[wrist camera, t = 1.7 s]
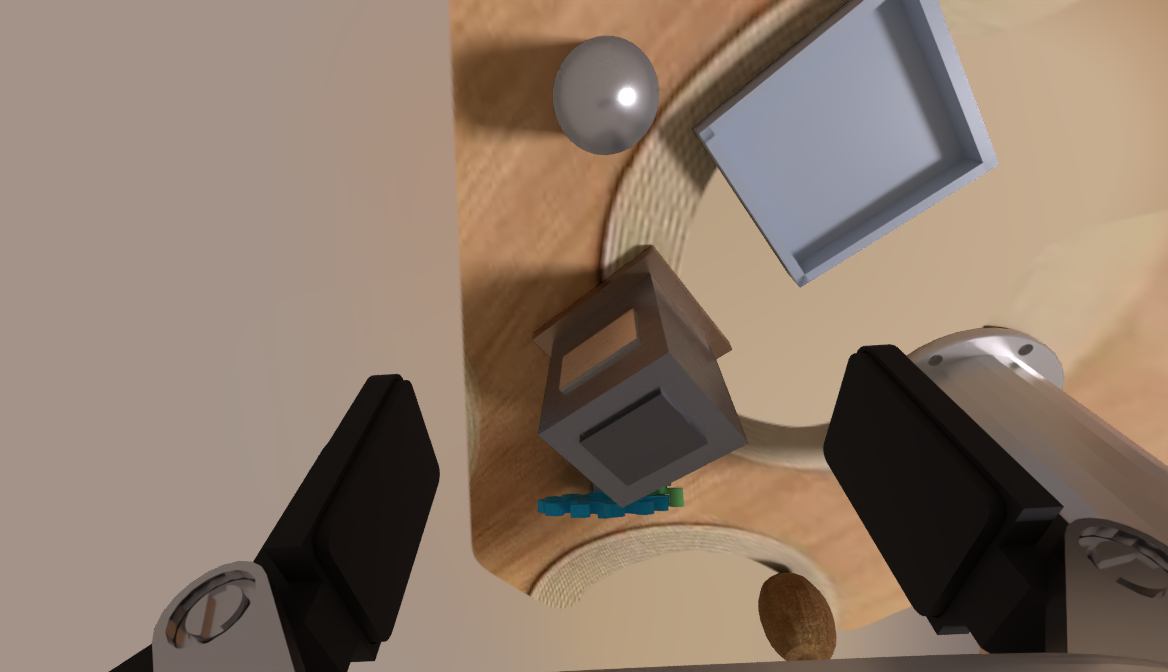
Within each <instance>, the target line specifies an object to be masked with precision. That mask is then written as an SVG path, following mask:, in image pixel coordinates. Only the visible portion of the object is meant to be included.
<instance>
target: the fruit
mask: <svg viewBox="0 0 1168 672" xmlns="http://www.w3.org/2000/svg"><path fill="white" fill-rule="evenodd" d="M758 602H759V604H758V607H759V615H760V620H761V623H762V626H763V629H764V632H765V634H766V637H767V639H768V640H769V642H770V644H771V646H772V647H773V648H774V649H775V651H776V652H777V653H778V654H779V655H780V656H781V657H783V658H784V659H785V660H786V661H802V660H827V659H830V658H831V657H832V655H833V652H834V649H835V647H836V630H835V623H834V619H833V615H832V612H831V609H830V607H829V605H828V603H827V601H826V599H825V598H824V597H823V595H822V594H821V593H820V591H819V590H818V589H817V588H816V587H815V586H814V585H813V584H811V583H810V582H809V581H808V580H807V579H806V578H805V577H803V576H800V575H797V574H794V573H778V574H776V575H774V576H772V577H770V578H769V579H768V580H767V581H765V582H764V584H763V586H762V588H761V591H760V596H759V601H758Z"/></svg>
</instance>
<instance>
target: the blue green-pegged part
mask: <svg viewBox="0 0 1168 672" xmlns="http://www.w3.org/2000/svg"><path fill="white" fill-rule="evenodd" d="M667 486H671V483H670V484H668V485H666V486H664V487H662V488H660V489H658V490H656V491H654V492H652V493H650V494H648V495H646V496H644V497H643V498H641V499H639V500H637V501H635V502H633V503H631V504H629V505H627V506H625V507H623V508H621V507H620V506H619V505H618V504H617V503H616V502H615V501H613V500H612V499H611V498H610V497H609V496H608V495H606V494H605V493H604V492H603V491H602V490H601V489H600V488H598V487H597V486H596V485H595V484H594V483H593V493H588V495H580V494H566V495H562V497H557V496H552V497H546V498H545V499H543V500H538V512H540V513H545V515H547V516H562V515H564V513H571V518H587V517H590V514H598V518H613V517H623V516H625V513H631V514H638V515H649V514H653V513H654V511H668V507H669V506H670V507H683V506H684V501H683V488H667ZM654 494H655V495H654ZM665 494H669V495H665ZM669 497H670V503H669Z"/></svg>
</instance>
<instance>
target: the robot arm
mask: <svg viewBox="0 0 1168 672" xmlns="http://www.w3.org/2000/svg"><path fill="white" fill-rule="evenodd" d="M1063 384H1064V373H1063V368H1062V364H1061V362H1060V361H1059V359H1058V357H1057V356H1056V354H1055V353H1054V352H1053V351H1052V350H1051V349H1050V348H1048V347H1047V346H1046V345H1045V344H1043V343H1042V342H1040V341H1038V340H1037V339H1035V338H1033V337H1032V336H1030V335H1028V334H1025V333H1022V332H1019V331H1016V330H1012V329H1004V328H978V329H972V330H967V331H961V332H956V333H954V334H951V335H948V336H945V337H942V338H939V339H936V340H934V341H932V342H930V343H928V344H926V345H924V346H922V347H919V348H918V349H916V350H915V351H913V352H912V353H910V354H908V355H907V356H906V355H905V354H904V353H903V352H902V351H901V350H900V349H899V348H898V347H896V346H894V345H890V344H888V345H872V346H863V347H861V348H860V349H859V350H858V351H857V353H854V354H853V355H851V356H850V358H849V361H848V364H847V367H846V371H845V374H844V378H843V381H842V384H841V388H840V391H839V394H838V398H837V401H836V405H835V408H834V412H833V415H832V418H831V421H830V425H829V428H828V432H827V435H826V438H825V442H824V446H823V451H824V456H825V459H826V461H827V463H828V465H829V467H830V468H831V470H832V472H833V474H834V475H835V477H836V479H837V480H838V482H839V484H840V485H841V487H842V489H843V490H844V492H845V494H846V495H847V497H848V499H849V500H850V502H851V504H852V506H853V507H854V509H855V511H856V512H857V514H858V516H859V517H860V519H861V521H862V522H863V524H864V526H865V527H866V529H867V531H868V532H869V534H870V536H871V538H872V539H873V541H874V543H875V544H876V546H877V548H878V549H879V551H880V553H881V554H882V556H883V558H884V559H885V561H886V563H887V564H888V566H889V568H890V570H891V571H892V573H893V575H894V576H895V578H896V580H897V581H898V583H899V585H900V586H901V588H902V590H903V591H904V593H905V595H906V596H907V598H908V600H909V602H910V603H911V605H912V606H913V608H914V609H915V610H916V611H917V612H918V613H919V614H920V615H922V616H926V617H927V619H928V620H929V622H930V624H931V625H932V627H933V629H934V630H935V632H936V633H937V635H949V634H968V633H969V632H971V634H972V635H973V636H974V638H975V640H976V641H977V643H978V644H979V646H980V650H979V654H964V655H963V654H962V655H961V654H960V655H927V656H903V657H878V658H852V659H827V660H802V661H778V662H756V663H735V664H711V665H691V666H690V665H689V666H668V667H645V668H623V669H604V670H583V671H562V672H1168V466H1167V465H1165V464H1164V463H1163V462H1161V461H1160V460H1158V459H1157V458H1156V457H1154V456H1153V455H1151V454H1150V453H1149V452H1147V451H1146V450H1144V449H1143V448H1142V447H1140V446H1139V445H1138V444H1136V443H1135V442H1133V441H1132V440H1131V439H1129V438H1128V437H1126V436H1125V435H1124V434H1122V433H1121V432H1119V431H1118V430H1117V429H1115V428H1114V427H1113V426H1111V425H1110V424H1108V423H1107V422H1106V421H1104V420H1103V419H1101V418H1100V417H1099V416H1097V415H1096V414H1094V413H1093V412H1092V411H1090V410H1089V409H1088V408H1086V407H1085V406H1083V405H1082V404H1081V403H1079V402H1078V401H1076V400H1075V399H1074V398H1072V397H1071V396H1069V395H1068V394H1067V393H1065V392H1064V391H1063ZM439 471H440V470H439V465H438V462H437V459H436V456H435V453H434V450H433V447H432V444H431V441H430V438H429V435H428V432H427V429H426V426H425V423H424V420H423V417H422V414H421V411H420V408H419V405H418V402H417V399H416V396H415V393H414V390H413V387H412V384H411V382H410V381H408V380H403V378H402V377H401V376H400V375H399V374H389V375H374V376H371V377H369V378H368V379H367V381H366V383H365V384H364V386H363V387H362V389H361V390H360V392H359V394H358V395H357V397H356V399H355V400H354V402H353V403H352V405H351V407H350V409H349V410H348V411H347V413H346V415H345V416H344V418H343V420H342V421H341V423H340V425H339V426H338V428H337V429H336V431H335V433H334V434H333V436H332V438H331V439H330V441H329V442H328V444H327V445H326V446H325V447H324V448H323V450H322V451H321V453H320V455H319V456H318V458H317V460H316V461H315V463H314V465H313V466H312V468H311V469H310V471H309V472H308V474H307V476H306V477H305V479H304V481H303V482H302V484H301V485H300V487H299V489H298V490H297V492H296V493H295V495H294V497H293V498H292V500H291V502H290V503H289V505H288V507H287V508H286V510H285V511H284V513H283V515H282V516H281V518H280V519H279V521H278V522H277V524H276V526H275V527H274V529H273V531H272V532H271V534H270V535H269V537H268V539H267V540H266V542H265V543H264V545H263V547H262V548H261V550H260V552H259V553H258V555H257V557H256V558H255V560H254V561H253V562H248V561H247V562H246V561H237V562H234V563H230V564H225V565H222V566H220V567H218V568H215V569H214V570H211V571H209V572H207V573H205V574H204V575H202V576H201V577H199V578H198V579H196V580H195V581H193V582H192V583H190V584H189V585H188V586H187V587H186V588H185V589H183V590H182V591H181V592H180V593H179V594H178V595H177V596H176V597H175V598H174V599H173V600H172V601H171V603H170V604H169V605H168V607H167V608H166V609H165V610H164V611H163V613H162V615H161V617H160V618H159V620H158V623H157V624H156V626H155V628H154V634H153V641H152V644H151V645H149V646H148V647H146V648H145V649H143V650H142V651H140V652H139V653H137V654H135V655H134V656H132V657H131V658H129V659H128V660H126V661H125V662H123V663H122V664H120V665H119V666H117V667H115V668H114V669H112V670H111V671H109V672H347V671H348V668H349V665H350V662H364V661H375V659H376V656H377V653H378V650H379V647H380V644H381V642H385V641H387V640H388V639H389V637H390V636H391V634H392V631H393V628H394V625H395V621H396V618H397V615H398V612H399V609H400V605H401V602H402V599H403V596H404V593H405V589H406V586H407V583H408V580H409V577H410V573H411V570H412V566H413V564H414V561H415V557H416V554H417V551H418V547H419V544H420V541H421V538H422V535H423V532H424V528H425V525H426V522H427V519H428V515H429V512H430V509H431V506H432V503H433V499H434V496H435V493H436V490H437V487H438V483H439V477H440V472H439Z"/></svg>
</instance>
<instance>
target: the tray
mask: <svg viewBox="0 0 1168 672" xmlns="http://www.w3.org/2000/svg"><path fill="white" fill-rule="evenodd" d="M692 129H693V131H694V132H695V134H696V135H697V137H698V138H699V140H700V141H701V143H702V144H703V146H704V147H705V149H706V150H707V152H708V153H709V155H710V156H711V158H712V159H713V161H714V162H715V164H716V165H717V167H718V168H719V170H720V171H721V173H722V174H723V176H724V177H725V179H726V180H727V182H728V183H729V185H730V186H731V188H732V190H733V191H734V193H735V194H736V195H737V197H738V199H739V200H740V202H741V203H742V205H743V206H744V208H745V209H746V211H747V212H748V214H749V215H750V217H751V218H752V220H753V221H754V223H755V224H756V226H757V227H758V229H759V230H760V232H761V233H762V235H763V236H764V238H765V239H766V241H767V242H768V244H769V245H770V247H771V249H772V250H773V252H774V253H775V255H776V256H777V258H778V259H779V261H780V262H781V264H782V265H783V267H784V268H785V270H786V271H787V273H788V274H789V275H790V277H791V278H792V279H793V280H794V281H795V282H796V283H797V285H798V286H799V287H802V286H804V285H805V284H807V283H808V282H810V281H812V280H813V279H815V278H817V277H818V276H820V275H821V274H823V273H825V272H826V271H828V270H830V269H831V268H833V267H834V266H836V265H838V264H839V263H841V262H842V261H844V260H845V259H847V258H849V257H850V256H852V255H854V254H855V253H857V252H859V251H860V250H862V249H863V248H865V247H867V246H868V245H870V244H872V243H873V242H875V241H876V240H878V239H880V238H881V237H883V236H884V235H886V234H888V233H889V232H891V231H893V230H894V229H896V228H897V227H899V226H901V225H902V224H904V223H905V222H907V221H909V220H910V219H912V218H914V217H915V216H917V215H918V214H920V213H922V212H923V211H925V210H927V209H928V208H930V207H931V206H933V205H934V204H936V203H938V202H939V201H941V200H943V199H944V198H946V197H947V196H949V195H951V194H952V193H954V192H956V191H957V190H959V189H960V188H962V187H964V186H965V185H967V184H969V183H970V182H972V181H973V180H975V179H977V178H978V177H980V176H981V175H983V174H985V173H986V172H988V171H990V170H991V169H992V168H994V167H996V166H998V165H999V162H998V159H997V157H996V154H995V151H994V149H993V146H992V143H991V141H990V138H989V135H988V133H987V130H986V128H985V125H984V123H983V120H982V117H981V115H980V112H979V109H978V106H977V104H976V101H975V98H974V96H973V93H972V90H971V88H970V85H969V82H968V80H967V77H966V74H965V72H964V69H963V66H962V64H961V61H960V58H959V56H958V53H957V50H956V48H955V45H954V42H953V40H952V37H951V35H950V32H949V29H948V27H947V24H946V21H945V19H944V16H943V13H942V11H941V8H940V5H939V3H938V0H849V1H848V2H846V3H845V4H844V5H843V6H842V7H840V8H839V9H838V10H837V11H835V12H834V13H833V14H832V15H831V16H829V17H828V18H827V19H826V20H824V21H823V22H822V23H821V24H820V25H818V26H817V27H816V28H815V29H813V30H812V31H811V32H810V33H809V34H807V35H806V36H805V37H804V38H802V39H801V40H800V41H799V42H798V43H796V44H795V45H794V46H793V47H791V48H790V49H789V50H788V51H787V52H785V53H784V54H783V55H782V56H780V57H779V58H778V59H777V60H776V61H774V62H773V63H772V64H771V65H769V66H768V67H767V68H766V69H765V70H763V71H762V72H761V73H760V74H758V75H757V76H756V77H755V78H754V79H752V80H751V81H750V82H749V83H747V84H746V85H745V86H744V87H743V88H741V89H740V90H739V91H738V92H736V93H735V94H734V95H733V96H732V97H730V98H729V99H728V100H727V101H725V102H724V103H723V104H722V105H721V106H719V107H718V108H717V109H716V110H714V111H713V112H712V113H711V114H710V115H708V116H707V117H706V118H705V119H703V120H702V121H701V122H700V123H699V124H697V125H696V126H695V127H694V128H692Z"/></svg>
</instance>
